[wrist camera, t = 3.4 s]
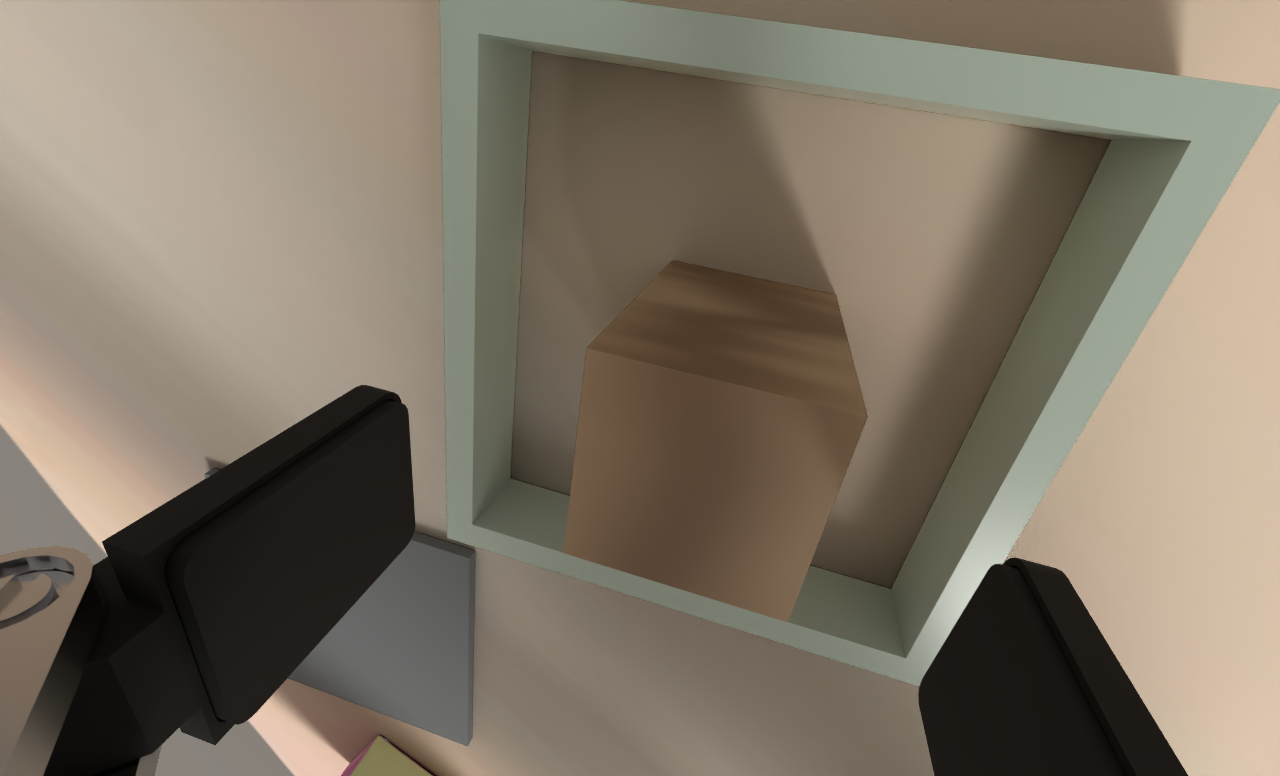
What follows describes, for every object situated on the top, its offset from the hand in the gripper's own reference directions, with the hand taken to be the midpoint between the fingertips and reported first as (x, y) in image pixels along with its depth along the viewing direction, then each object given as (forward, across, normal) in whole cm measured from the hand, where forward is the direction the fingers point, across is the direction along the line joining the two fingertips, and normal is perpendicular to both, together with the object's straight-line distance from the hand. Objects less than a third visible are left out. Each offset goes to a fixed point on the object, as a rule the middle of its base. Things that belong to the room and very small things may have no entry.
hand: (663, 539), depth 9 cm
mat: (+10, +16, +20) cm, 27 cm away
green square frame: (+10, 0, +1) cm, 10 cm away
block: (+10, 0, +1) cm, 10 cm away
